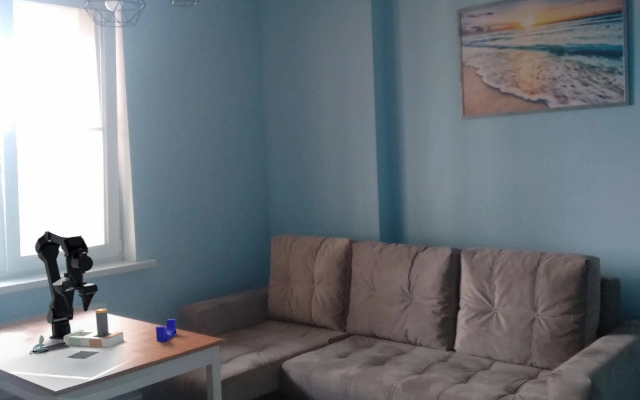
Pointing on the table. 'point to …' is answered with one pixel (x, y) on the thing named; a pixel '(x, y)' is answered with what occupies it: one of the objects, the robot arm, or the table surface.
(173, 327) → the cable clip
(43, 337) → the pacifier
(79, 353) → the mat
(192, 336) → the table surface
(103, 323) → the plug
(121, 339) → the socket panel
